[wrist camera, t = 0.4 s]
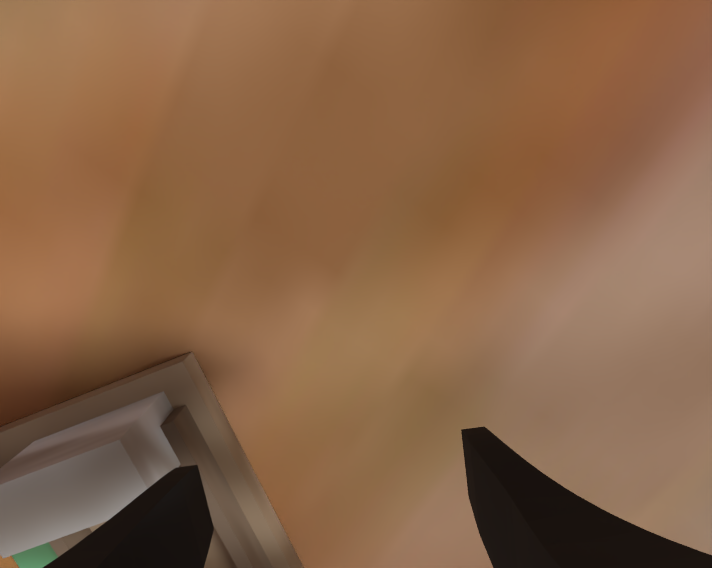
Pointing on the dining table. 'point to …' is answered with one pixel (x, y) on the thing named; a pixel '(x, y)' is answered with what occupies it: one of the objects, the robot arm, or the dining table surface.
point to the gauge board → (210, 423)
